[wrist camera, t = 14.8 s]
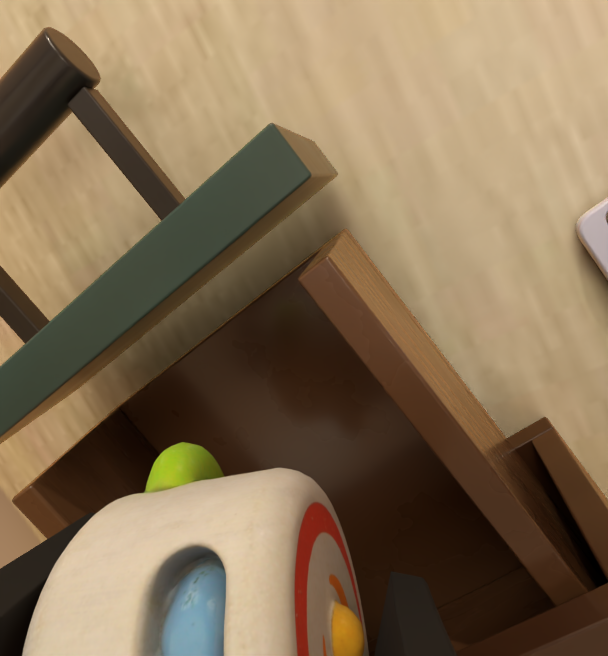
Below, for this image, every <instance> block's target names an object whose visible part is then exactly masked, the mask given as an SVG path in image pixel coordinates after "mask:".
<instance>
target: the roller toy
mask: <svg viewBox="0 0 608 656" xmlns="http://www.w3.org/2000/svg"><path fill="white" fill-rule="evenodd" d="M22 656H369V651H368V643H367V636H366V629H365V623H364V616H363V611H362V605H361V600H360V595H359V590H358V585H357V581H356V576H355V572H354V568H353V564H352V560H351V556H350V552H349V549H348V546H347V542H346V539H345V536H344V533H343V530H342V527H341V525H340V522H339V520H338V517H337V515H336V513H335V510H334V508H333V506H332V504H331V502H330V500H329V499H328V497H327V495H326V494H325V492H324V491H323V490H322V489H321V487H320V486H319V485H318V484H317V483H316V482H315V481H314V480H313V479H312V478H310V477H309V476H307V475H305V474H303V473H301V472H300V471H296V470H292V469H286V468H274V469H268V470H262V471H256V472H251V473H244V474H238V475H232V476H227V477H225V476H224V474H223V472H222V470H221V468H220V466H219V464H218V463H217V461H216V460H215V458H214V457H213V456H212V455H211V454H210V453H209V452H208V451H207V450H206V449H204V448H203V447H201V446H199V445H195V444H190V443H185V442H181V443H178V444H176V445H173V446H171V447H169V448H167V449H166V450H164V451H163V452H162V453H161V454H160V455H159V456H158V458H157V459H156V461H155V462H154V464H153V467H152V469H151V472H150V475H149V478H148V481H147V485H146V490H145V492H144V493H138V494H132V495H128V496H125V497H122V498H120V499H117V500H115V501H113V502H111V503H110V504H108V505H107V506H105V507H104V508H103V509H101V510H100V511H99V512H97V513H96V514H95V515H94V516H93V517H92V518H91V519H90V520H89V521H88V522H87V523H86V524H85V525H84V526H83V527H82V528H81V529H80V530H79V532H78V533H77V534H76V535H75V537H74V538H73V539H72V540H71V541H70V543H69V544H68V546H67V547H66V548H65V550H64V551H63V553H62V554H61V556H60V557H59V559H58V560H57V562H56V563H55V565H54V567H53V569H52V571H51V573H50V575H49V577H48V579H47V581H46V583H45V585H44V587H43V590H42V592H41V594H40V597H39V599H38V602H37V605H36V607H35V610H34V613H33V616H32V619H31V622H30V625H29V629H28V632H27V636H26V640H25V644H24V648H23V654H22Z"/></svg>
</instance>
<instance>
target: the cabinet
mask: <svg viewBox="0 0 608 656" xmlns="http://www.w3.org/2000/svg"><path fill="white" fill-rule="evenodd" d="M507 440H508V441H509V442H510V444H511V445H512V446H513V448H514V449H515V450H516V452H517V453H518V454H519V455H520V457H521V458H522V459H523V461H524V462H525V463H526V465H527V466H528V467H529V469H530V470H531V471H532V473H533V474H534V475H535V477H536V478H537V479H538V480H539V482H540V483H541V484H542V486H543V487H544V488H545V490H546V491H547V492H548V494H549V495H550V496H551V498H552V499H553V500H554V502H555V503H556V504H557V505H558V507H559V508H560V509H561V511H562V512H563V513H564V515H565V516H566V517H567V519H568V520H569V521H570V523H571V524H572V525H573V527H574V528H575V529H576V530H577V532H578V533H579V534H580V536H581V537H582V538H583V540H584V542H585V544H586V546H587V547H588V549H589V551H590V554H591V555H592V557H593V558H594V560H595V562H596V564H597V566H598V568H599V569H600V571H601V573H602V575H603V577H604V579H605V580H606V582H607V583H606V584H604V585H602V586H600V587H598V588H595V589H593V590H591V591H589V592H587V593H584V594H582V595H580V596H578V597H576V598H573V599H571V600H569V601H567V602H565V603H562V604H560V605H558V606H556V607H554V608H551V609H549V610H547V611H545V612H543V613H540V614H538V615H536V616H534V617H532V618H529V619H527V620H525V621H523V622H521V623H518V624H516V625H514V626H512V627H510V628H507V629H505V630H503V631H501V632H499V633H496V634H494V635H492V636H490V637H488V638H485V639H483V640H481V641H479V642H477V643H474V644H472V645H470V646H468V647H466V648H463V649H461V650H459V651H457V652H456V654H457V656H608V499H607V498H606V497H605V495H604V494H603V493H602V491H601V490H600V489H599V487H598V486H597V485H596V483H595V482H594V481H593V479H592V478H591V476H590V475H589V474H588V472H587V471H586V470H585V468H584V467H583V466H582V464H581V463H580V462H579V460H578V459H577V458H576V456H575V455H574V454H573V452H572V451H571V449H570V448H569V447H568V445H567V444H566V443H565V441H564V440H563V439H562V437H561V436H560V435H559V433H558V432H557V431H556V429H555V428H554V426H553V425H552V424H551V422H550V421H549V420H548V418H546V417H544V418H542V419H540V420H539V421H537V422H535V423H533V424H532V425H530V426H528V427H526V428H525V429H523V430H521V431H519V432H518V433H516V434H514V435H512V436H511V437H509V438H507Z"/></svg>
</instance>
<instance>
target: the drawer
mask: <svg viewBox="0 0 608 656" xmlns="http://www.w3.org/2000/svg"><path fill="white" fill-rule="evenodd" d="M100 79H101V78H100V75H99V72H98V71H97V69H96V67H95V66H94V64H93V63H92V61H91V60H90V59H89V58H88V57H87V55H86V54H85V53H84V52H83V51H82V50H81V49H80V48H79V47H78V46H77V45H76V44H75V43H74V42H73V41H71V40H70V39H69V38H68V37H66V36H65V35H64V34H62V33H61V32H59V31H57V30H55V29H53V28H51V27H47V28H44V29H43V30H42V31H41V32H40V34H39V35H38V36H37V37H36V38H35V39H34V41H33V42H32V43H31V44H30V45H29V46H28V47H27V49H26V50H25V51H24V52H23V53H22V54H21V56H20V57H19V58H18V59H17V60H16V61H15V63H14V64H13V65H12V66H11V67H10V68H9V70H8V71H7V72H6V73H5V74H4V75H3V77H2V78H1V79H0V188H1V187H2V186H3V185H4V184H5V183H6V182H7V181H8V180H9V179H10V178H11V177H12V175H13V174H14V173H15V172H16V171H17V170H18V169H19V168H20V167H21V166H22V165H23V164H24V163H25V162H26V161H27V159H28V158H29V157H30V156H31V155H32V154H33V153H34V152H35V151H36V150H37V149H38V148H39V147H40V146H41V145H42V144H43V142H44V141H45V140H46V139H47V138H48V137H49V136H50V135H51V134H52V133H53V132H54V131H55V130H56V129H57V128H58V127H59V125H60V124H61V123H62V122H63V121H64V120H65V119H66V118H67V117H68V116H69V115H70V114H71V113H72V112H73V113H74V114H75V115H76V116H77V118H78V119H79V120H80V121H81V123H82V124H83V125H84V126H85V127H86V129H87V130H88V131H89V132H90V134H91V135H92V136H93V137H94V138H95V140H96V141H97V142H98V143H99V145H100V146H101V147H102V148H103V149H104V151H105V152H106V153H107V154H108V156H109V157H110V158H111V159H112V160H113V162H114V163H115V164H116V165H117V167H118V168H119V169H120V170H121V171H122V173H123V174H124V175H125V176H126V178H127V179H128V180H129V181H130V182H131V184H132V185H133V186H134V187H135V189H136V190H137V191H138V192H139V193H140V195H141V196H142V197H143V198H144V200H145V201H146V202H147V203H148V204H149V206H150V207H151V208H152V209H153V211H154V212H155V213H156V214H157V215H158V217H159V218H160V219H161V220H162V221H161V222H160V223H159V224H158V225H156V226H155V227H154V228H153V229H152V230H151V231H150V232H149V233H148V234H147V235H145V236H144V237H143V238H142V239H141V240H140V241H139V242H138V243H137V244H135V245H134V246H133V247H132V248H131V249H130V250H129V251H128V252H127V253H125V254H124V255H123V256H122V257H121V258H120V259H119V260H118V261H117V262H115V263H114V264H113V265H112V266H111V267H110V268H109V269H108V270H107V271H105V272H104V273H103V274H102V275H101V276H100V277H99V278H98V279H97V280H95V281H94V282H93V283H92V284H91V285H90V286H89V287H88V288H87V289H86V290H84V291H83V292H82V293H81V294H80V295H79V296H78V297H77V298H76V299H74V300H73V301H72V302H71V303H70V304H69V305H68V306H67V307H66V308H64V309H63V310H62V311H61V312H60V313H59V314H58V315H57V316H56V317H54V318H53V319H52V320H51V321H49V320H48V319H47V318H46V317H45V316H44V314H43V313H42V312H41V311H40V310H39V309H38V308H37V307H36V305H35V304H34V303H33V302H32V301H31V300H30V299H29V297H28V296H27V295H26V294H25V293H24V292H23V291H22V290H21V288H20V287H19V286H18V285H17V284H16V283H15V282H14V281H13V279H12V278H11V277H10V276H9V275H8V274H7V273H6V271H5V270H4V269H3V268H2V267H1V266H0V316H1V317H2V318H3V319H4V320H5V322H6V323H7V324H8V325H9V326H10V327H11V328H12V329H13V330H14V332H15V333H16V334H17V335H18V336H19V337H20V338H21V339H22V340H23V342H24V343H25V345H23V346H22V347H21V348H20V349H19V350H18V351H17V352H16V353H15V354H13V355H12V356H11V357H10V358H9V359H8V360H7V361H6V362H5V363H3V364H2V365H1V366H0V444H1V443H2V442H4V441H5V440H7V439H8V438H9V437H11V436H12V435H14V434H15V433H16V432H18V431H19V430H21V429H22V428H24V427H25V426H26V425H28V424H29V423H31V422H32V421H33V420H35V419H36V418H38V417H39V416H40V415H42V414H43V413H45V412H46V411H47V410H49V409H50V408H52V407H53V406H54V405H56V404H57V403H59V402H60V401H62V400H63V399H64V398H66V397H67V396H69V395H70V394H71V393H73V392H74V391H76V390H77V389H78V388H80V387H81V386H82V385H84V384H85V383H86V382H87V381H88V380H90V379H91V378H92V377H93V376H94V375H96V374H97V373H98V372H99V371H101V370H102V369H103V368H104V367H105V366H107V365H108V364H109V363H110V362H112V361H113V360H114V359H115V358H116V357H118V356H119V355H120V354H121V353H122V352H124V351H125V350H126V349H127V348H129V347H130V346H131V345H132V344H133V343H135V342H136V341H137V340H138V339H139V338H141V337H142V336H143V335H144V334H146V333H147V332H148V331H149V330H150V329H152V328H153V327H154V326H155V325H156V324H158V323H159V322H160V321H161V320H163V319H164V318H165V317H166V316H167V315H169V314H170V313H171V312H172V311H173V310H175V309H176V308H177V307H178V306H180V305H181V304H182V303H183V302H184V301H186V300H187V299H188V298H189V297H190V296H192V295H193V294H194V293H195V292H197V291H198V290H199V289H200V288H201V287H203V286H204V285H205V284H206V283H207V282H209V281H210V280H211V279H212V278H214V277H215V276H216V275H217V274H218V273H220V272H221V271H222V270H223V269H224V268H226V267H227V266H228V265H229V264H231V263H232V262H233V261H234V260H235V259H237V258H238V257H239V256H240V255H242V254H243V253H244V252H245V251H246V250H248V249H249V248H250V247H251V246H252V245H254V244H255V243H256V242H257V241H259V240H260V239H261V238H262V237H263V236H265V235H266V234H267V233H268V232H269V231H271V230H272V229H273V228H274V227H276V226H277V225H278V224H279V223H280V222H282V221H283V220H284V219H285V218H286V217H288V216H289V215H290V214H291V213H293V212H294V211H295V210H296V209H297V208H299V207H300V206H301V205H302V204H303V203H305V202H306V201H307V200H308V199H310V198H311V197H312V196H313V195H314V194H316V193H317V192H318V191H319V190H320V189H322V188H323V187H324V186H325V185H327V184H328V183H329V182H330V181H331V180H333V179H334V178H335V177H336V176H337V175H338V173H337V171H336V170H335V169H334V167H333V166H332V165H331V163H330V162H329V161H328V159H327V158H326V157H325V155H324V154H323V153H322V151H321V150H320V149H319V147H318V146H317V145H316V143H315V142H314V141H312V140H310V139H307V138H305V137H303V136H301V135H298V134H296V133H294V132H292V131H289V130H287V129H285V128H283V127H280V126H278V125H276V124H274V123H270V124H268V125H267V126H266V127H265V128H264V129H263V130H262V131H261V132H260V133H259V134H257V135H256V136H255V137H254V138H253V139H252V140H251V141H250V142H249V143H247V144H246V145H245V146H244V147H243V148H242V149H241V150H240V151H239V152H237V153H236V154H235V155H234V156H233V157H232V158H231V159H230V160H229V161H227V162H226V163H225V164H224V165H223V166H222V167H221V168H220V169H219V170H217V171H216V172H215V173H214V174H213V175H212V176H211V177H210V178H209V179H207V180H206V181H205V182H204V183H203V184H202V185H201V186H200V187H199V188H198V189H196V190H195V191H194V192H193V193H192V194H191V195H190V196H189V197H188V198H186V199H185V198H184V197H183V196H182V194H181V193H180V192H179V191H178V189H177V188H176V187H175V186H174V184H173V183H172V182H171V181H170V179H169V178H168V177H167V176H166V174H165V173H164V172H163V171H162V169H161V168H160V167H159V166H158V165H157V163H156V162H155V161H154V160H153V158H152V157H151V156H150V155H149V153H148V152H147V151H146V150H145V148H144V147H143V146H142V145H141V143H140V142H139V141H138V140H137V138H136V137H135V136H134V135H133V133H132V132H131V131H130V130H129V128H128V127H127V126H126V125H125V124H124V122H123V121H122V120H121V119H120V117H119V116H118V115H117V114H116V112H115V111H114V110H113V109H112V107H111V106H110V105H109V104H108V102H107V101H106V100H105V99H104V97H103V96H102V95H101V94H100V92H99V91H98V90H95V89H94V88H95V87H96V86H97V85H98V84H99V83H100ZM181 442H185V443H190V444H195V445H199V446H201V447H203V448H204V449H206V450H207V451H208V452H209V453H210V454H211V455H212V456H213V457H214V458H215V460H216V461H217V463H218V464H219V466H220V468H221V470H222V472H223V474H224V476H225V477H227V476H232V475H238V474H244V473H251V472H256V471H262V470H268V469H274V468H286V469H292V470H296V471H300V472H301V473H303V474H305V475H307V476H309V477H310V478H312V479H313V480H314V481H315V482H316V483H317V484H318V485H319V486H320V487H321V489H322V490H323V491H324V492H325V494H326V495H327V497H328V499H329V500H330V502H331V504H332V506H333V508H334V510H335V513H336V515H337V517H338V520H339V522H340V525H341V527H342V530H343V533H344V536H345V539H346V542H347V546H348V549H349V552H350V556H351V560H352V564H353V568H354V572H355V576H356V581H357V585H358V590H359V595H360V600H361V605H362V611H363V616H364V623H365V629H366V636H367V643H368V651H369V656H375V649H376V644H377V639H378V634H379V629H380V624H381V619H382V614H383V609H384V604H385V599H386V594H387V589H388V583H389V578H390V573H391V571H392V572H397V573H402V574H407V575H412V576H417V577H422V578H424V580H425V581H426V582H427V584H428V587H429V589H430V592H431V595H432V598H433V600H434V603H435V605H436V608H437V610H438V613H439V615H440V618H441V620H442V622H443V625H444V627H445V629H446V632H447V634H448V636H449V639H450V641H451V643H452V645H453V647H454V650H455V652H457V651H459V650H461V649H463V648H466V647H468V646H470V645H472V644H474V643H477V642H479V641H481V640H483V639H485V638H488V637H490V636H492V635H494V634H496V633H499V632H501V631H503V630H505V629H507V628H510V627H512V626H514V625H516V624H518V623H521V622H523V621H525V620H527V619H529V618H532V617H534V616H536V615H538V614H540V613H543V612H545V611H547V610H549V609H551V608H554V607H556V606H558V605H560V604H562V603H565V602H567V601H569V600H571V599H573V598H576V597H578V596H580V595H582V594H584V593H587V592H589V591H591V590H593V589H595V588H598V587H600V586H602V585H604V584H606V583H607V582H606V580H605V579H604V577H603V575H602V573H601V571H600V569H599V568H598V566H597V564H596V562H595V560H594V558H593V557H592V555H591V554H590V551H589V549H588V547H587V546H586V544H585V542H584V540H583V538H582V537H581V536H580V534H579V533H578V532H577V530H576V529H575V528H574V527H573V525H572V524H571V523H570V521H569V520H568V519H567V517H566V516H565V515H564V513H563V512H562V511H561V509H560V508H559V507H558V505H557V504H556V503H555V502H554V500H553V499H552V498H551V496H550V495H549V494H548V492H547V491H546V490H545V488H544V487H543V486H542V484H541V483H540V482H539V480H538V479H537V478H536V477H535V475H534V474H533V473H532V471H531V470H530V469H529V467H528V466H527V465H526V463H525V462H524V461H523V459H522V458H521V457H520V455H519V454H518V453H517V452H516V450H515V449H514V448H513V446H512V445H511V444H510V442H509V441H508V440H507V438H506V437H505V436H504V434H503V433H502V432H501V430H500V429H499V428H498V427H497V425H496V424H495V423H494V421H493V420H492V419H491V417H490V416H489V415H488V413H487V412H486V411H485V409H484V408H483V407H482V405H481V404H480V403H479V401H478V400H477V399H476V398H475V396H474V395H473V394H472V392H471V391H470V390H469V388H468V387H467V386H466V384H465V383H464V382H463V380H462V379H461V378H460V376H459V375H458V374H457V373H456V371H455V370H454V369H453V367H452V366H451V365H450V363H449V362H448V361H447V359H446V358H445V357H444V355H443V354H442V353H441V351H440V350H439V349H438V348H437V346H436V345H435V344H434V342H433V341H432V340H431V338H430V337H429V336H428V334H427V333H426V332H425V330H424V329H423V328H422V326H421V325H420V324H419V323H418V321H417V320H416V319H415V317H414V316H413V315H412V313H411V312H410V311H409V309H408V308H407V307H406V305H405V304H404V303H403V301H402V300H401V299H400V298H399V296H398V295H397V294H396V292H395V291H394V290H393V288H392V287H391V286H390V284H389V283H388V282H387V280H386V279H385V278H384V276H383V275H382V274H381V272H380V271H379V270H378V269H377V267H376V266H375V265H374V263H373V262H372V261H371V259H370V258H369V257H368V255H367V254H366V253H365V251H364V250H363V249H362V247H361V246H360V245H359V244H358V242H357V241H356V240H355V238H354V237H353V236H352V234H351V233H350V232H349V230H348V229H343V230H342V231H341V232H340V233H338V234H337V235H336V236H335V237H333V238H332V239H331V240H329V241H328V242H327V243H326V244H324V245H323V246H322V247H320V248H319V249H318V250H317V251H315V252H314V253H313V254H312V255H310V256H309V257H308V258H306V259H305V260H304V261H303V262H301V263H300V264H299V265H297V266H296V267H295V268H294V269H292V270H291V271H290V272H289V273H287V274H286V275H285V276H283V277H282V278H281V279H280V280H278V281H277V282H276V283H274V284H273V285H272V286H271V287H269V288H268V289H267V290H266V291H264V292H263V293H262V294H260V295H259V296H258V297H257V298H255V299H254V300H253V301H251V302H250V303H249V304H248V305H246V306H245V307H244V308H243V309H241V310H240V311H239V312H237V313H236V314H235V315H234V316H232V317H231V318H230V319H228V320H227V321H226V322H225V323H223V324H222V325H221V326H220V327H218V328H217V329H216V330H214V331H213V332H212V333H211V334H209V335H208V336H207V337H205V338H204V339H203V340H202V341H200V342H199V343H198V344H196V345H195V346H194V347H193V348H191V349H190V350H189V351H188V352H186V353H185V354H184V355H182V356H181V357H180V358H179V359H177V360H176V361H175V362H173V363H172V364H171V365H170V366H168V367H167V368H166V369H165V370H163V371H162V372H161V373H159V374H158V375H157V376H156V377H154V378H153V379H152V380H150V381H149V382H148V383H147V384H145V385H144V386H143V387H142V388H140V389H139V390H138V391H136V392H135V393H134V394H133V395H131V396H130V397H129V398H127V399H126V400H125V401H124V402H122V403H121V404H120V405H119V406H117V407H116V408H115V409H114V410H112V411H111V412H110V413H109V414H108V415H107V416H106V417H105V418H103V419H102V420H101V421H100V422H99V423H98V424H97V425H95V426H94V427H93V428H92V429H91V430H90V431H89V432H87V433H86V434H85V435H84V436H83V437H82V438H81V439H79V440H78V441H77V442H76V443H75V444H74V445H73V446H72V447H70V448H69V449H68V450H67V451H66V452H65V453H64V454H62V455H61V456H60V457H59V458H58V459H57V460H56V461H54V462H53V463H52V464H51V465H50V466H49V467H48V468H47V469H45V470H44V471H43V472H42V473H41V474H40V475H39V476H37V477H36V478H35V479H34V480H33V481H32V482H31V483H29V484H28V485H27V486H26V487H25V488H24V489H23V490H22V491H20V492H19V493H18V494H17V495H16V496H15V497H14V498H13V500H12V502H13V503H14V504H15V505H16V506H17V507H18V508H19V510H20V511H21V512H22V513H23V514H24V515H25V516H26V517H27V518H28V519H29V520H30V521H31V522H32V523H33V524H34V525H35V526H36V527H37V528H38V529H39V530H40V532H41V533H42V534H43V535H44V536H45V537H46V538H47V539H49V538H50V537H52V536H53V535H55V534H56V533H58V532H60V531H61V530H63V529H64V528H66V527H67V526H69V525H71V524H72V523H74V522H75V521H77V520H79V519H80V518H82V517H84V516H85V515H87V514H89V513H90V512H91V513H97V512H99V511H100V510H101V509H103V508H104V507H105V506H107V505H108V504H110V503H111V502H113V501H115V500H117V499H120V498H122V497H125V496H128V495H132V494H138V493H144V492H145V490H146V485H147V481H148V478H149V475H150V472H151V469H152V467H153V464H154V462H155V461H156V459H157V458H158V456H159V455H160V454H161V453H162V452H163V451H164V450H166V449H167V448H169V447H171V446H173V445H176V444H178V443H181Z"/></svg>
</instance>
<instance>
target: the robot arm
mask: <svg viewBox="0 0 608 656" xmlns="http://www.w3.org/2000/svg"><path fill="white" fill-rule="evenodd" d="M607 212H608V197H607V198H606V199H604V200H603V201H601V202H600V203H598V204H597V205H595V206H594V207H592V208H591V209H589V210H588V211H586V212H585V213H584V214H583V215H582V216H581V217H580V218H579V220H578V222H577V224H576V233H577V235H578V238H579V239H580V241H581V242H582V244H583V245H584V246H585V248H586V249H587V251H588V252H589V254H590V255H591V257H592V258H593V260H594V261H595V262H596V264H597V265H598V267H599V268H600V270H601V271H602V273H603V274H604V276H605V277H606V279H607V280H608V223H607V221H606V214H607ZM95 514H96V513H91V512H90V513H89V514H87V515H85V516H84V517H82V518H80V519H79V520H77V521H75V522H74V523H72V524H71V525H69V526H67V527H66V528H64V529H63V530H61V531H60V532H58V533H56V534H55V535H53V536H52V537H50V538H49V539H47V540H46V541H44V542H42V543H41V544H39V545H38V546H36V547H35V548H33V549H31V550H30V551H28V552H27V553H25V554H23V555H22V556H20V557H18V558H17V559H15V560H14V561H12V562H10V563H9V564H7V565H6V566H4V567H3V568H1V569H0V656H22V654H23V648H24V644H25V640H26V636H27V632H28V629H29V625H30V622H31V619H32V616H33V613H34V610H35V607H36V605H37V602H38V599H39V597H40V594H41V592H42V590H43V587H44V585H45V583H46V581H47V579H48V577H49V575H50V573H51V571H52V569H53V567H54V565H55V563H56V562H57V560H58V559H59V557H60V556H61V554H62V553H63V551H64V550H65V548H66V547H67V546H68V544H69V543H70V541H71V540H72V539H73V538H74V537H75V535H76V534H77V533H78V532H79V530H80V529H81V528H82V527H83V526H84V525H85V524H86V523H87V522H88V521H89V520H90V519H91V518H92V517H93V516H94V515H95ZM375 656H457V654H456V652H455V650H454V647H453V645H452V643H451V641H450V639H449V636H448V634H447V632H446V629H445V627H444V625H443V622H442V620H441V618H440V615H439V613H438V610H437V608H436V605H435V603H434V600H433V598H432V595H431V592H430V589H429V587H428V584H427V582H426V581H425V580H424V578H422V577H417V576H412V575H407V574H402V573H397V572H392V571H391V573H390V578H389V583H388V589H387V594H386V599H385V604H384V609H383V614H382V619H381V624H380V629H379V634H378V639H377V644H376V649H375Z"/></svg>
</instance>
